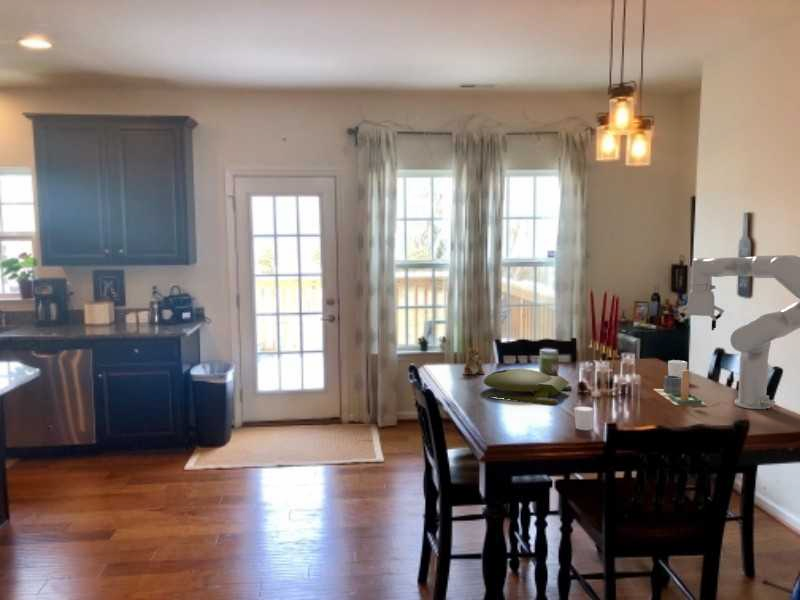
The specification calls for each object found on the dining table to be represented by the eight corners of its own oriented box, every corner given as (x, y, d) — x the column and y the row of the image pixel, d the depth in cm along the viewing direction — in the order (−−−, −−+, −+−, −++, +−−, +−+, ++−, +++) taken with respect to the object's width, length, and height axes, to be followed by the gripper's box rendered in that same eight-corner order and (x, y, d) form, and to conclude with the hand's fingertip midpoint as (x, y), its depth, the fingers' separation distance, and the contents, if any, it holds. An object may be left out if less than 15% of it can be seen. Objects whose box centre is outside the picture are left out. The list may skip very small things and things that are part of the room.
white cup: (683, 381, 291) (683, 360, 290) (689, 385, 283) (689, 363, 282) (665, 381, 292) (665, 360, 291) (670, 385, 284) (671, 363, 283)
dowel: (690, 400, 254) (691, 370, 253) (685, 401, 252) (686, 371, 251) (684, 398, 256) (685, 369, 255) (679, 399, 255) (680, 370, 254)
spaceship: (573, 389, 280) (573, 368, 280) (555, 406, 253) (556, 382, 252) (497, 382, 297) (497, 361, 296) (473, 397, 269) (473, 375, 268)
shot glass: (575, 430, 221) (575, 410, 220) (572, 424, 228) (573, 405, 227) (595, 431, 220) (595, 411, 219) (592, 425, 227) (593, 406, 226)
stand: (706, 407, 248) (707, 388, 247) (675, 407, 248) (675, 388, 248) (681, 391, 273) (681, 374, 273) (652, 391, 274) (653, 374, 273)
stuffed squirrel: (464, 376, 309) (464, 349, 308) (462, 370, 323) (462, 344, 322) (485, 376, 309) (485, 349, 308) (482, 369, 323) (482, 344, 322)
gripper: (725, 288, 261) (723, 329, 263) (679, 286, 270) (678, 326, 271) (724, 289, 255) (722, 331, 256) (677, 288, 263) (676, 329, 265)
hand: (699, 329), depth 264 cm, fingers open, 9 cm apart
